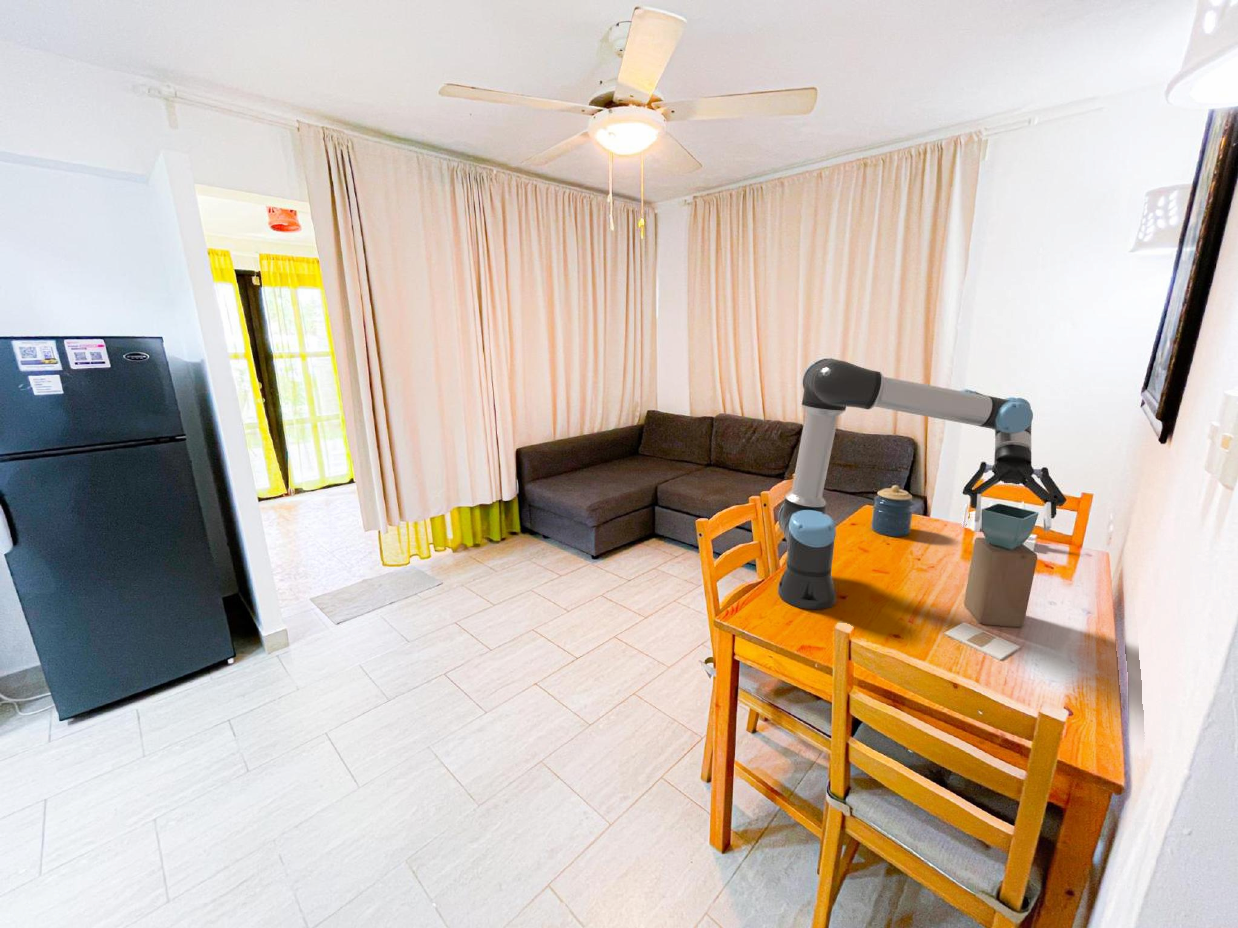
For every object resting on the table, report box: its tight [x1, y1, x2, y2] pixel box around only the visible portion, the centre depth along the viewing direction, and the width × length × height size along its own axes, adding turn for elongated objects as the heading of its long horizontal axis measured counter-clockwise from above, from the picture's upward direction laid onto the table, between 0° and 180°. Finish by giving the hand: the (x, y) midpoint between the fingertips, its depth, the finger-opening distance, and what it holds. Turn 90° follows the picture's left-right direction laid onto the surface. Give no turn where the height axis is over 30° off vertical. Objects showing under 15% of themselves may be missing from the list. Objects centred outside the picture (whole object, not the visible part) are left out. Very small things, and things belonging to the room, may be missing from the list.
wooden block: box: [963, 536, 1038, 628], centre depth 128 cm, size 10×10×20 cm
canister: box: [870, 484, 915, 538], centre depth 186 cm, size 13×13×18 cm
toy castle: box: [961, 500, 1038, 552], centre depth 180 cm, size 14×25×16 cm, turn 27°
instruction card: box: [944, 622, 1021, 661], centre depth 120 cm, size 12×9×1 cm
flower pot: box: [981, 503, 1040, 550], centre depth 124 cm, size 9×9×9 cm
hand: (1011, 524), depth 122 cm, fingers open, 13 cm apart
